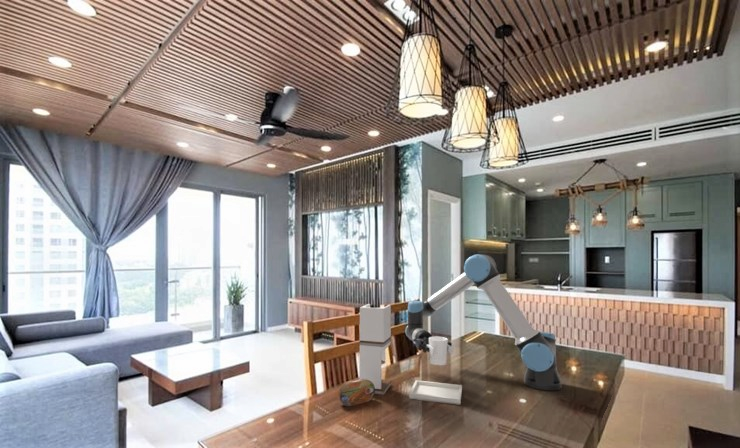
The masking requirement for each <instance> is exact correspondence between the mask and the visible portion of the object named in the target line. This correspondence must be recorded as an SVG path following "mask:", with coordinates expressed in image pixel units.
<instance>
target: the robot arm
mask: <svg viewBox="0 0 740 448" xmlns="http://www.w3.org/2000/svg"><path fill="white" fill-rule="evenodd" d="M474 285H475V287H476V288H477V289H478V290H480V291H481V290H482V291H483V293H484V294H485V295H486V297H487V299H488V300H489V301H490V303H491V305H492V306H493V307H494V309H495V311H496V312H497V313H498V316H499V317H500V318H501V320H502V321H503V322H504V324H505V326H506V327H507V328H508V330H509V331H510V333H511V335H512V336H513V337H514V340H515V341H514V345H515V346H516V348H517V350H518V351H519V353H520V356H521V360H522V362H523V364H524V365H525V366H526V369H525V373H524V376H523V383H524V384H525V385H526V386H528V387H529V388H533V389H536V390H541V391H559V390H561V389H562V386H563V385H562V380H561V377H560V374H559V372H558V369H557V353H556V352H557V350H556V346H557V344H556V341H557V339H556V335H555V334H554V333H552V332H548V331H540V330H538V329H534V327H532V325H531V323H530V322H529V321H528V319H527V318H526V315H524V313H523V312H522V311H521V309H520V308H519V306H518V305H517V303H516V301H514V299H513V297H512V296H511V295H510V293H509V291H508V290H507V289H506V287H505V286H504V285H503V283H502V281H501V274H500V272H499V271H498V269H497V264H496V262H495V259H494V258H493V257H492V256H491V255H488V254H478V253H477V254H473V255H471V256H469V257H468V258H466V260H465V262H464V265H463V272H462V273H461V274H459V275H458V276H457V277H455V278H454V279H453V280H452V281H450V282H448V283H447V284H446V285H445V286H443V287H442V288H440V289H439V290H438V291H436V292H435V293H433V294H432V295H431V296H429V297H428V298H425V300H423V301H421V300H410V301H408V303H407V326H406V327H405V330H404V331H405V335H406V337H407V338H408V340H410V341H412V342H413V346H415V348H417V349H418V351H423V353H427V352H428V354H429V353H430V354H431V355H434V348H433V347H431V346H430V345H429V337H433V335H432V333H430V332H429V331H427V330H426V329H424V318H428V317H431V316H432V315H433V314H434V313H436V312H437V310H439V309H441V308H442V307H444V306H445V305H446V304H448V303H450V302H451V301H452V300H453V299H455V298H456V297H458V296H460V295H461V294H462V293H464V292H465V291H467V290H468V289H469V288H471V287H472V286H474ZM447 353H448V354H450V355H454V347H453V346H452V342H451V341H448V344H447Z"/></svg>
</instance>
